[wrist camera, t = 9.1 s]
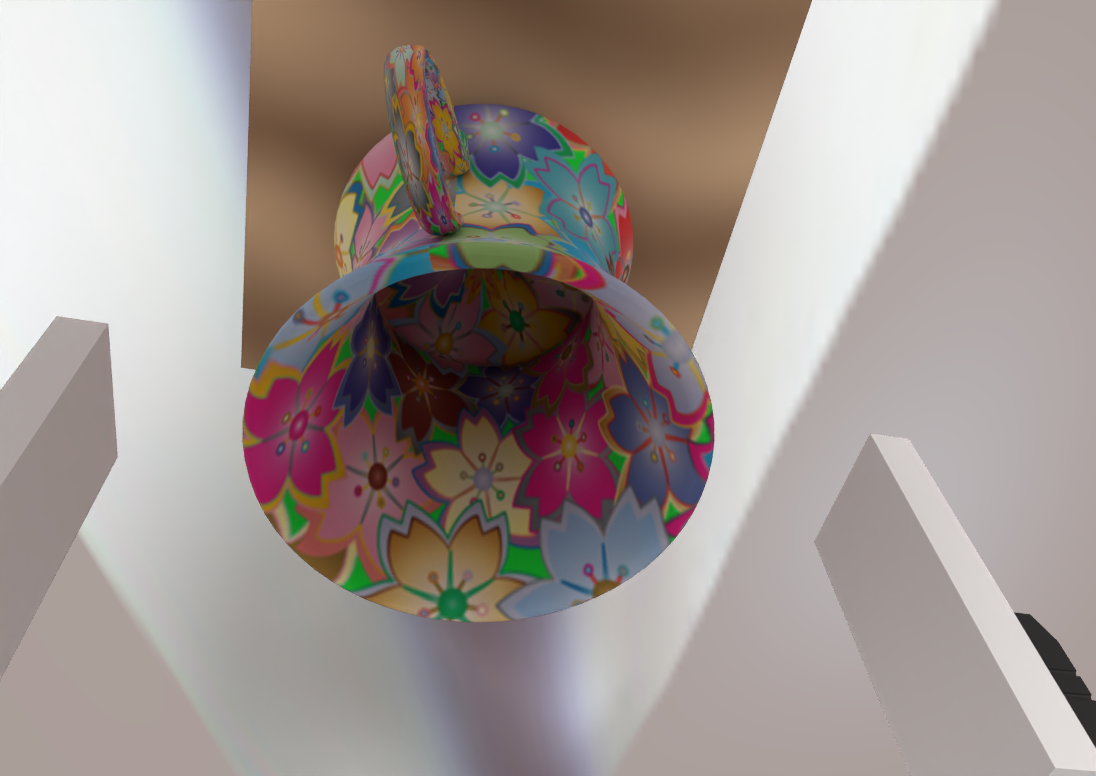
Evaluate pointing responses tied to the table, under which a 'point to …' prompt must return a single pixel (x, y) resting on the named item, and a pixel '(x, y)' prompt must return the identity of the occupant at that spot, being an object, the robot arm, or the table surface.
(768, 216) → the table surface
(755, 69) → the stool
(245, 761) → the table surface
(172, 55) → the table surface
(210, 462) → the table surface
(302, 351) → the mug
